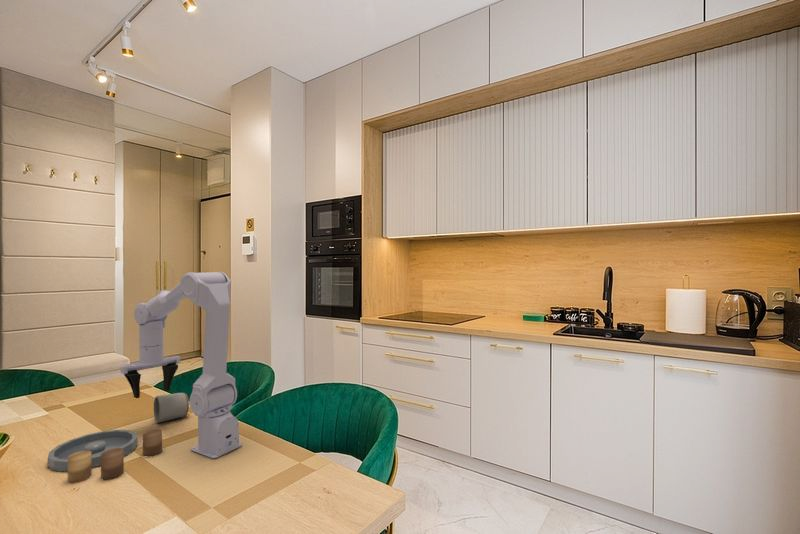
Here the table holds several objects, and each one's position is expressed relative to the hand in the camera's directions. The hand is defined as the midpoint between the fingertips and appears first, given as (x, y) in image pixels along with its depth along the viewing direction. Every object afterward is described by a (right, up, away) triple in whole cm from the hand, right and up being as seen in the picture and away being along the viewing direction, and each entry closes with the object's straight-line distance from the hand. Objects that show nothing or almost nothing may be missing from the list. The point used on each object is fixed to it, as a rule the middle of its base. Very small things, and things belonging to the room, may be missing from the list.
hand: (152, 393), depth 111 cm
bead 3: (+9, -10, -15) cm, 20 cm away
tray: (-5, -10, -15) cm, 18 cm away
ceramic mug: (0, -10, +8) cm, 13 cm away
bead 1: (+1, -10, -26) cm, 28 cm away
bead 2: (+7, -10, -25) cm, 28 cm away
